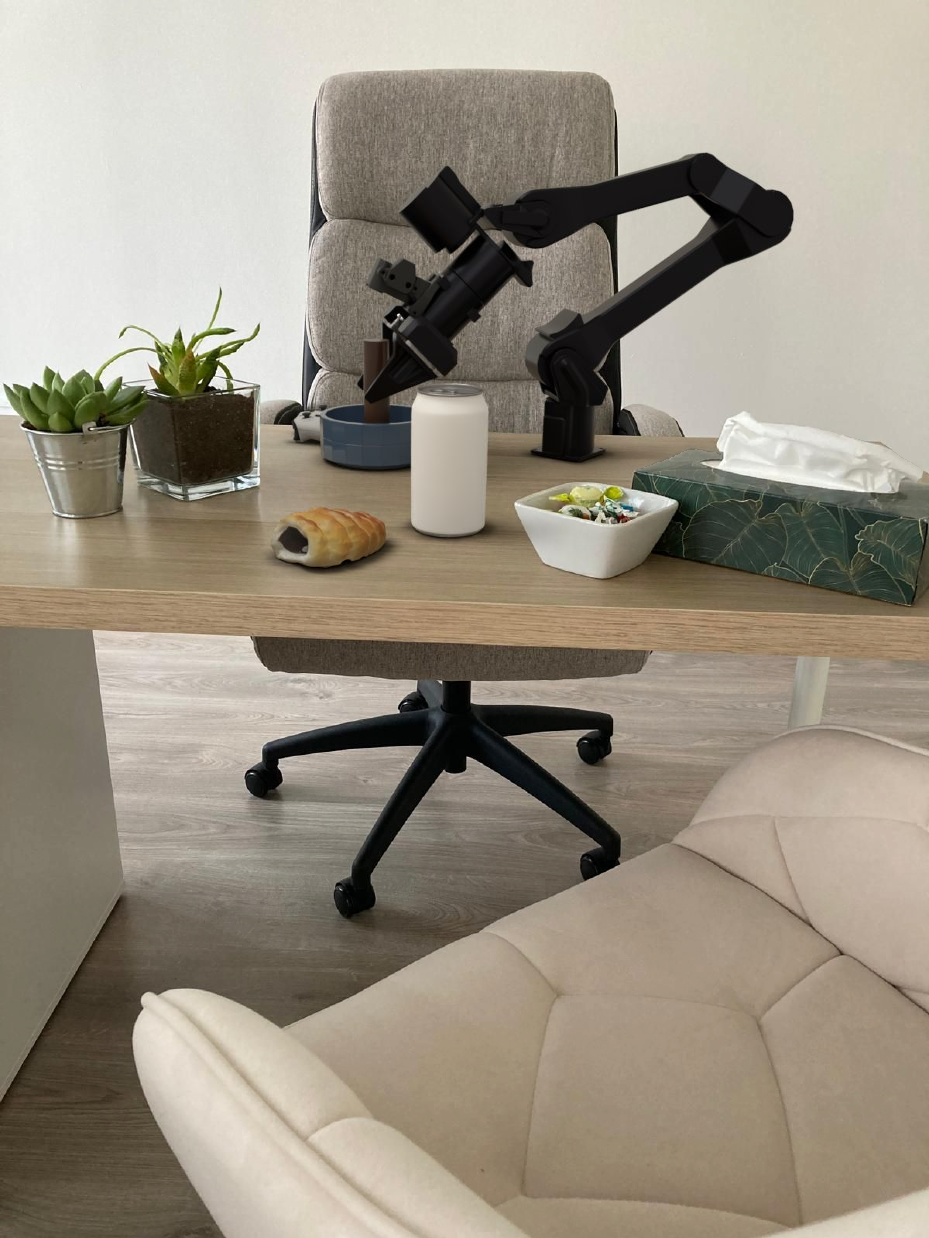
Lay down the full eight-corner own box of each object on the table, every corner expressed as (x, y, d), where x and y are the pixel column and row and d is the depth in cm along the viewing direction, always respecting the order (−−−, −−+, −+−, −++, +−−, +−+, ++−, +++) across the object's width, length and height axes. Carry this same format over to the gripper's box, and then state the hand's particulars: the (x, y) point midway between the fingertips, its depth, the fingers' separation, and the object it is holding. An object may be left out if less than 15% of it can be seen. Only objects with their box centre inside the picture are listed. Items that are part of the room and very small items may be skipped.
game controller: (349, 439, 118) (311, 401, 117) (317, 470, 120) (279, 433, 118) (358, 422, 127) (323, 387, 126) (329, 452, 129) (293, 418, 127)
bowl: (371, 442, 121) (371, 399, 120) (454, 457, 115) (454, 412, 113) (298, 460, 112) (296, 414, 110) (383, 477, 106) (382, 429, 104)
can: (475, 542, 86) (479, 398, 81) (401, 534, 87) (401, 393, 83) (492, 520, 92) (496, 385, 87) (422, 514, 93) (423, 380, 89)
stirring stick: (394, 448, 116) (393, 337, 111) (400, 457, 112) (399, 342, 107) (355, 449, 115) (352, 337, 110) (360, 458, 111) (358, 342, 106)
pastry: (351, 531, 88) (350, 488, 86) (407, 549, 84) (407, 504, 82) (263, 556, 81) (261, 510, 80) (320, 577, 77) (318, 528, 76)
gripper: (400, 227, 114) (303, 329, 116) (425, 231, 97) (312, 351, 99) (468, 301, 118) (374, 399, 120) (504, 317, 101) (394, 431, 103)
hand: (363, 393), depth 111 cm, fingers open, 8 cm apart
